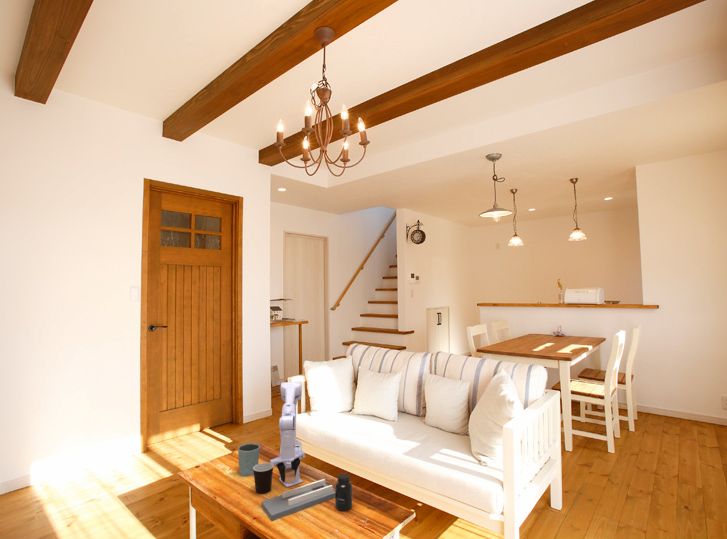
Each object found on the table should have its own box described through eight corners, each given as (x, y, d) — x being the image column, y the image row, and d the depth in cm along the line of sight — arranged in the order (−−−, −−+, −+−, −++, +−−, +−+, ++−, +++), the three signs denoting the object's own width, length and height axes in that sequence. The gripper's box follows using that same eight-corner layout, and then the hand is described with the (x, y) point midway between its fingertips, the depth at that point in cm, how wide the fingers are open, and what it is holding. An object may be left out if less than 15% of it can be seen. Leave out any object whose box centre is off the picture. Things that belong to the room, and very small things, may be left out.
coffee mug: (268, 496, 160) (268, 472, 160) (249, 494, 161) (249, 470, 162) (279, 482, 171) (279, 460, 172) (262, 481, 173) (261, 459, 173)
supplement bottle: (337, 513, 146) (336, 481, 147) (333, 504, 153) (333, 473, 153) (354, 510, 148) (353, 478, 149) (350, 501, 155) (349, 471, 155)
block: (281, 479, 155) (281, 469, 156) (290, 477, 157) (290, 467, 158) (285, 483, 152) (285, 473, 152) (294, 480, 154) (294, 470, 154)
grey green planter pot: (236, 470, 185) (236, 445, 185) (258, 465, 189) (257, 441, 190) (239, 479, 175) (239, 452, 176) (261, 474, 180) (261, 448, 180)
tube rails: (282, 497, 155) (282, 492, 155) (324, 483, 165) (324, 478, 166) (289, 505, 148) (289, 500, 149) (332, 490, 159) (332, 485, 159)
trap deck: (261, 506, 152) (261, 501, 152) (322, 485, 167) (322, 481, 168) (271, 521, 142) (271, 515, 142) (336, 497, 158) (336, 492, 158)
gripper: (274, 452, 148) (274, 488, 147) (308, 444, 156) (308, 477, 155) (268, 447, 154) (268, 481, 153) (300, 439, 162) (301, 471, 161)
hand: (288, 479), depth 155 cm, fingers closed on block, 4 cm apart
